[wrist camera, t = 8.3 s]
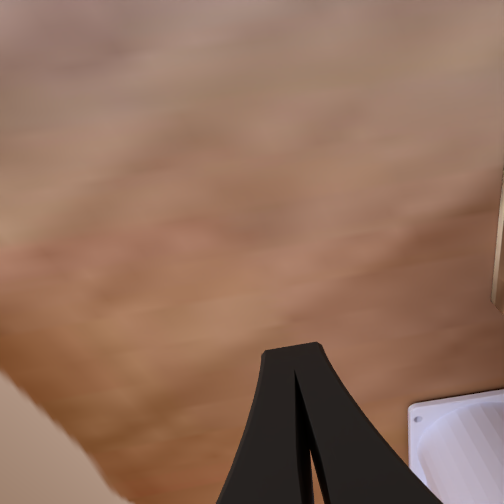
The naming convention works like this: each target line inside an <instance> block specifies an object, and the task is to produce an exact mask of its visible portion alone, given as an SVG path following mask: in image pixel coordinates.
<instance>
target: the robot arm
mask: <svg viewBox="0 0 504 504" xmlns="http://www.w3.org/2000/svg"><path fill="white" fill-rule="evenodd" d="M408 444H409V467H408V466H407V465H406V464H405V463H404V462H403V460H402V459H401V458H400V457H399V456H398V455H397V454H396V452H395V451H394V450H393V449H392V448H391V447H390V445H389V444H388V443H387V442H386V441H385V439H384V438H383V437H382V436H381V434H380V433H379V432H378V431H377V430H376V428H375V427H374V426H373V425H372V423H371V422H370V421H369V419H368V418H367V417H366V416H365V414H364V413H363V411H362V410H361V409H360V407H359V406H358V405H357V403H356V402H355V400H354V399H353V398H352V396H351V395H350V394H349V392H348V391H347V389H346V388H345V386H344V385H343V383H342V382H341V380H340V378H339V377H338V375H337V374H336V372H335V370H334V369H333V367H332V365H331V363H330V362H329V360H328V358H327V356H326V354H325V352H324V349H323V347H322V345H321V344H319V343H318V342H312V343H306V344H300V345H294V346H288V347H282V348H276V349H270V350H265V351H264V353H263V354H262V356H261V366H260V372H259V378H258V382H257V387H256V391H255V395H254V399H253V403H252V406H251V410H250V413H249V416H248V420H247V423H246V427H245V430H244V433H243V436H242V439H241V441H240V444H239V447H238V450H237V452H236V455H235V458H234V461H233V464H232V466H231V469H230V471H229V474H228V476H227V479H226V481H225V484H224V486H223V488H222V491H221V493H220V495H219V498H218V500H217V502H216V504H314V493H313V481H312V469H311V457H310V451H311V455H312V459H313V462H314V466H315V470H316V474H317V477H318V481H319V485H320V489H321V492H322V496H323V500H324V503H325V504H504V389H502V390H495V391H489V392H483V393H476V394H470V395H464V396H457V397H451V398H445V399H438V400H432V401H426V402H419V403H414V404H412V405H410V407H409V408H408Z"/></svg>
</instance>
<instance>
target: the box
mask: <svg viewBox="0 0 504 504" xmlns="http://www.w3.org/2000/svg"><path fill="white" fill-rule="evenodd" d="M491 302H492V303H493V304H494V305H495V306H496V307H497V308H498V310H499V311H500V312H501V313H502V314H503V315H504V169H503V180H502V190H501V200H500V211H499V221H498V232H497V242H496V252H495V263H494V273H493V284H492V294H491Z"/></svg>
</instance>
